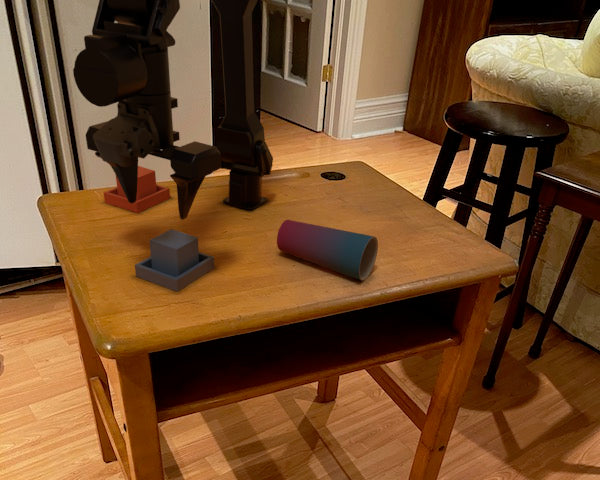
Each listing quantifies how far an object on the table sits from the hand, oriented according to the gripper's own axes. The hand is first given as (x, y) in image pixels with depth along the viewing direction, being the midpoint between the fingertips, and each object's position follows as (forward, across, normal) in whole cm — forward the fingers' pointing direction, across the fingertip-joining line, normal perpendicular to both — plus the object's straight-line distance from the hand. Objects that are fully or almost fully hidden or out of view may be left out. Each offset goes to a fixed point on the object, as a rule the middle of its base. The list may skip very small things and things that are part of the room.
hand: (157, 210), depth 84 cm
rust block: (+9, -20, +18) cm, 29 cm away
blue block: (+9, +2, 0) cm, 9 cm away
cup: (+6, +12, +16) cm, 21 cm away
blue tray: (+9, +2, 0) cm, 9 cm away
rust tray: (+9, -20, +18) cm, 29 cm away
